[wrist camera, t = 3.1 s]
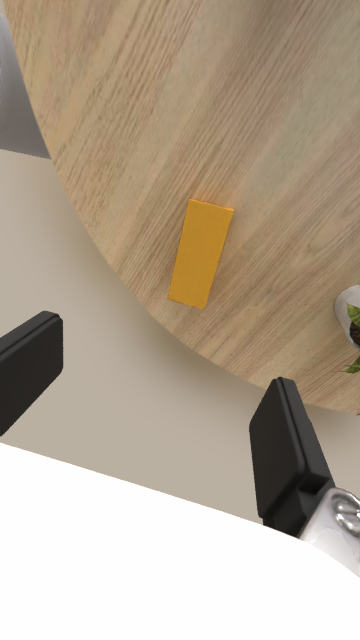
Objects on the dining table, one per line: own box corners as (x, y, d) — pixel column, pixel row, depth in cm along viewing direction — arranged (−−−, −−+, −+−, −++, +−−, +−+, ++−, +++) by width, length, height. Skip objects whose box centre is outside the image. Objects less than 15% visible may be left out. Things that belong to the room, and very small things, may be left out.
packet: (205, 300, 34) (204, 309, 32) (171, 291, 35) (167, 299, 32) (233, 209, 29) (234, 210, 26) (191, 198, 29) (188, 199, 26)
